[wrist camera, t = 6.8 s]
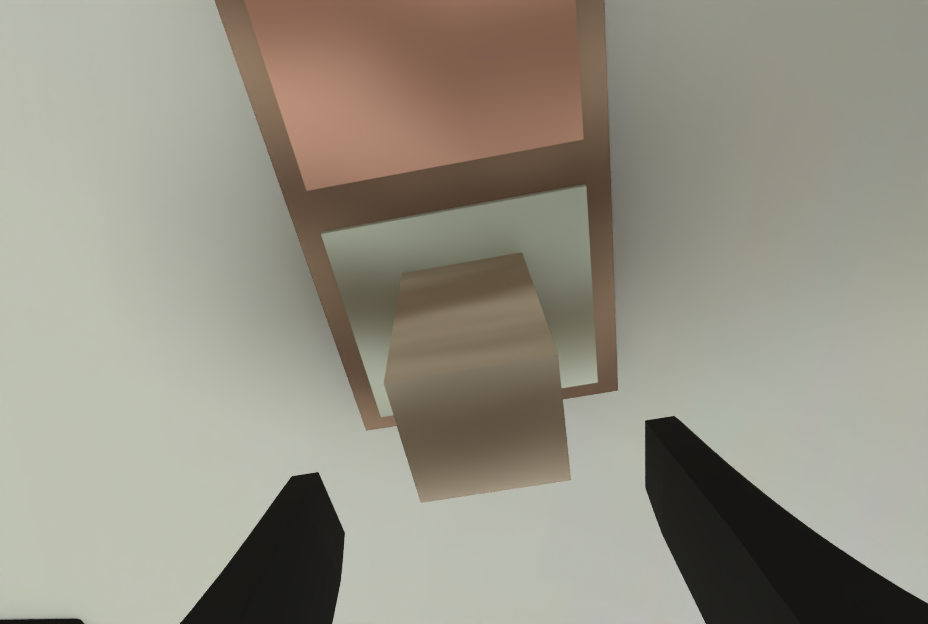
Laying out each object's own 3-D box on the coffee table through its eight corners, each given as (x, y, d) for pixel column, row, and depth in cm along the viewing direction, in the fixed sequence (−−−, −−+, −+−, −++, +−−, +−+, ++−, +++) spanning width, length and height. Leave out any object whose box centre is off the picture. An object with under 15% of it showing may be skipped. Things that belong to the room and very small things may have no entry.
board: (178, -146, 13) (154, -162, 12) (584, -237, 12) (598, -262, 11) (369, 414, 21) (365, 434, 20) (610, 375, 21) (619, 393, 20)
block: (402, 273, 17) (383, 383, 12) (522, 252, 17) (558, 354, 11) (426, 370, 19) (421, 502, 14) (534, 352, 19) (570, 480, 13)
